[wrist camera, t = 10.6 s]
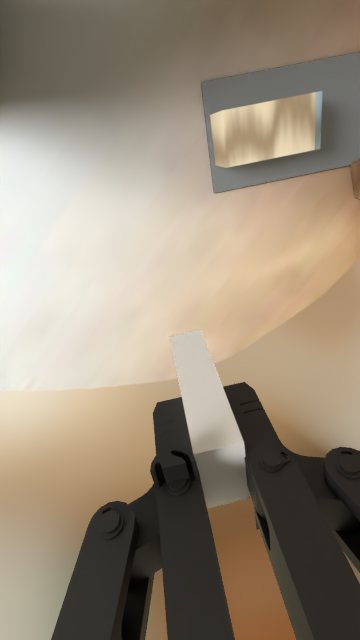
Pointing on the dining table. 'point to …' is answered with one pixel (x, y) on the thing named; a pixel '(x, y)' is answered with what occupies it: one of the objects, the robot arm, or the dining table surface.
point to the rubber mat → (298, 79)
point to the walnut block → (356, 178)
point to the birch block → (267, 130)
